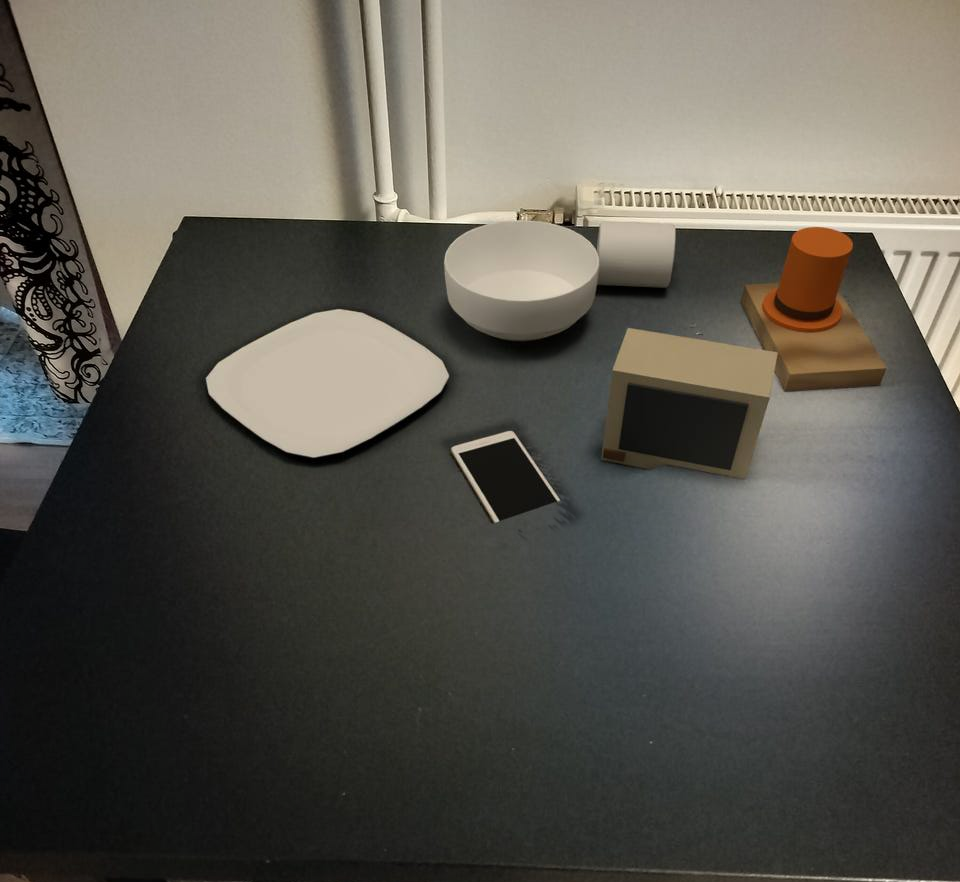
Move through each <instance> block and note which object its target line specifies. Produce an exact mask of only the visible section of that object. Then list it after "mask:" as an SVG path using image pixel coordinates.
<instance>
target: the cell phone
mask: <svg viewBox="0 0 960 882" xmlns="http://www.w3.org/2000/svg"><path fill="white" fill-rule="evenodd" d="M450 449H451V454H452V456H453V457H454V459H455V461H456V462H457V464H458V465H459V467H460V469H461V471H462V472H463V474H464V475H465V477H466V479H467V481H468V483H469V484H470V485H471V488H472V489H473V490H474V493H475V494H476V496H477V497H478V499H479V500H480V502H481V504H482V505H483V508H484V509H485V510H486V512H487V513H488V516H489V517H490V519H491V521H492V522H493V524H496V523H498V522H501V521H505V520H507V519H510V518H513V517H517V516H519V515H522V514H524V513H528V512H531V511H534V510H536V509H539V508H543V507H545V506H548V505H551V504H554V503H557V502H559V501H561V499H560V497H559V496H558V495H557V493H556V491H555V490H554V489H553V488H552V485H550V483H549V482H548V480H547V478H546V477H545V475H544V474H543V473H542V471H541V470H540V468H539V467H538V466H537V464H536V462H535V461H534V460H533V458H532V456H531V455H530V454H529V452H528V451H527V449H526V447H524V445H523V444H522V442H521V440H520V439H519V437H518V436H517V435H516V433H515V432H514V431H513V430H507V431H503V432H499V433H495V434H493V435H489V436H486V437H482V438H479V439H474V440H472V441H468V442H464V443H460V444H457V445H454V446H452V447H451V448H450Z"/></svg>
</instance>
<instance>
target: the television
mask: <svg viewBox="0 0 960 882" xmlns="http://www.w3.org/2000/svg"><path fill="white" fill-rule="evenodd" d="M777 354H778V352H773V351H767V350H764V349H760V348H753V347H749V346H748V347H747V346H741V345H735V344H729V343H724V342H717V341H711V340H704V339H699V338H693V337H687V336H680V335H673V334H668V333H661V332H655V331H649V330H644V329H643V330H642V329H637V328H631V327H627V329H626V332H625V334H624V337H623V340H622V343H621V346H620V348H619V351H618V353H617V356H616V359H615V362H614V364H613V368H612V369H611V377H610V378H611V379H610V386H609V395H608V402H607V409H606V416H605V417H606V418H605V425H604V426H605V427H604V435H603V440H602V441H603V443H602V450H601V458H600V460H601V461H603V462H604V461H605V462H610V463H615V464H619V465H625V466H631V467H635V468H641V469H645V470H653V469H656V468H660V467H663V466H665V465H669V466H675V467H679V468H685V469H691V470H695V471H700V472H706V473H712V474H716V475H722V476H725V477H731V478H737V479H743V480H746V478H747V476H748V472H749V469H750V466H751V462H752V458H753V455H754V451H755V450H756V449H755V448H756V445H757V442H758V439H759V435H760V432H761V429H762V425H763V421H764V419H765V415H766V412H767V408H768V405H769V403H770V402H769V401H770V398H771V395H772V394H771V393H772V388H773V382H774V376H775V366H776V360H777Z"/></svg>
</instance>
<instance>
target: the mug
mask: <svg viewBox="0 0 960 882" xmlns="http://www.w3.org/2000/svg"><path fill="white" fill-rule="evenodd" d="M676 232H677V231H676V225H675V224H674V223H661V222H659V223H658V222H640V221H612V220H611V221H607V220H600V222H599V226H598V235H597V244H596V251H597V254H598V256H599V272H598V281H597V286H613V287H614V286H617V287H637V288H638V287H639V288H640V287H641V288H642V287H643V288H658V289H659V288H661V289H666V288H668V287H669V285H670V282H671V278H672V273H673V267H674V260H675V259H674V258H675V250H676V235H677V233H676Z"/></svg>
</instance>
